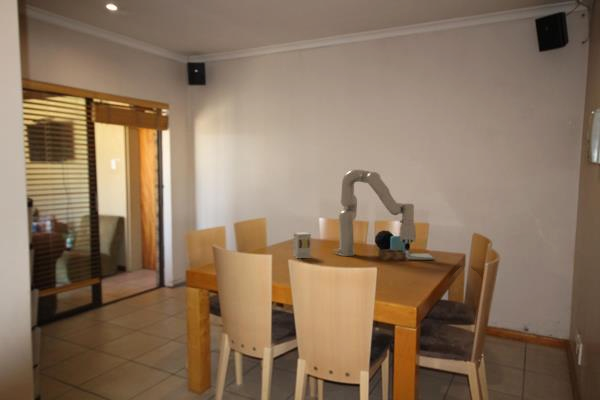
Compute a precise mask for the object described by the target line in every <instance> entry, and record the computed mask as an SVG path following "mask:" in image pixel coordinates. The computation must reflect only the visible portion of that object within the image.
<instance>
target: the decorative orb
mask: <svg viewBox="0 0 600 400" xmlns="http://www.w3.org/2000/svg"><path fill="white" fill-rule="evenodd" d="M391 236H394V234H393V233H392V232H391V231H390V230H385V229H384V230H380V231H379V232H378V233H376V235H375V237H374V243H375V245H376V246H377V248H379V250H390V238H391Z"/></svg>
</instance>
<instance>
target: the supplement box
mask: <svg viewBox="0 0 600 400" xmlns="http://www.w3.org/2000/svg"><path fill="white" fill-rule="evenodd" d="M311 235H312V234H311V233H309V232H307V231H301V232H300V231H299V232H293V257H294V258H295V257H296V258H295V259H297V258H299V259H298V260H301V259H300V258H309V259H311V251H312V250H311V245H312V243H311V238H312V237H311Z"/></svg>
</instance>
